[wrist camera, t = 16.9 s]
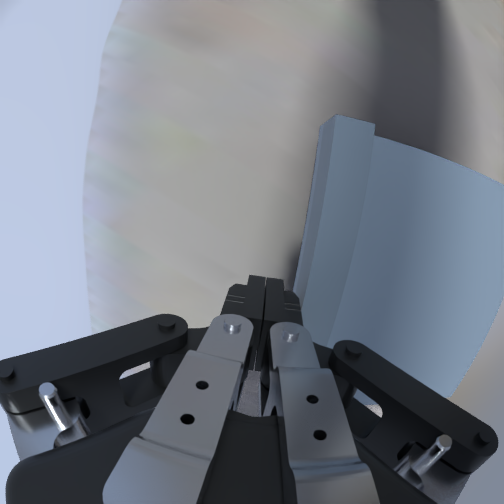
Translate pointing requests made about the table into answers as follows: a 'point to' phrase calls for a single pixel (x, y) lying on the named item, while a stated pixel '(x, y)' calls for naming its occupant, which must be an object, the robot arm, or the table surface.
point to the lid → (400, 254)
